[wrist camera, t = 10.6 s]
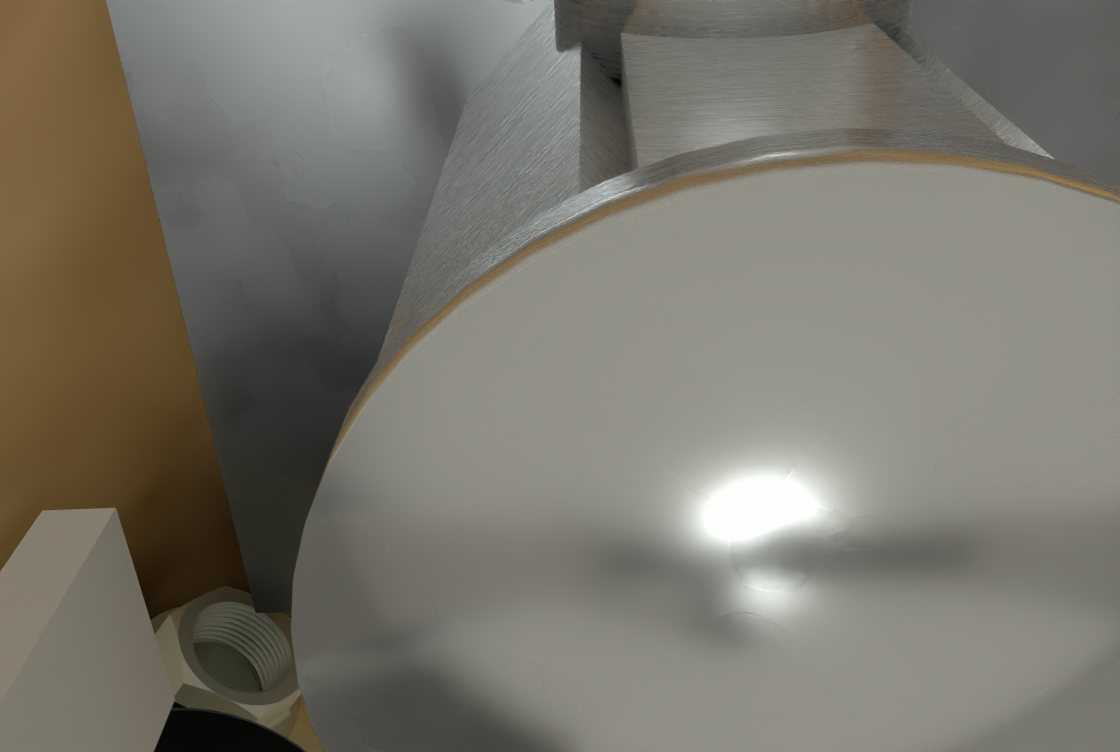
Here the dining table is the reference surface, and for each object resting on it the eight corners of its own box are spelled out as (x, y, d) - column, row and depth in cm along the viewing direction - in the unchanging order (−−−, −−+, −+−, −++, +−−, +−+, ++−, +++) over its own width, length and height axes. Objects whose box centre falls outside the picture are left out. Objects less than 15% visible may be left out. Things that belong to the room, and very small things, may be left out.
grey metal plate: (270, 573, 29) (144, 903, 20) (34, -455, 18) (-447, -641, 9) (1105, 557, 28) (1324, 893, 20) (1404, -533, 17) (2195, -814, 9)
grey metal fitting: (914, 399, 24) (1213, 976, 12) (467, 410, 24) (366, 981, 13) (1061, -617, 15) (2412, -1681, 4) (367, -574, 16) (-188, -1433, 4)
